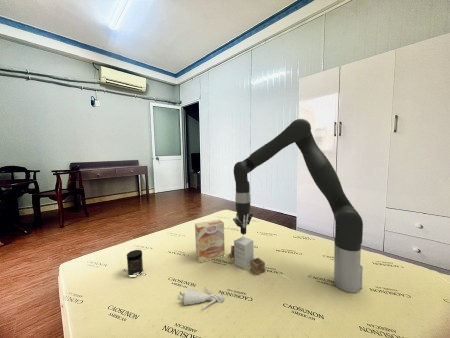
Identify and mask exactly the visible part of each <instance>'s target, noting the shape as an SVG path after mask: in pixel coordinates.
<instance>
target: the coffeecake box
mask: <svg viewBox="0 0 450 338" xmlns="http://www.w3.org/2000/svg"><path fill="white" fill-rule="evenodd" d="M194 228H195V229H194V232H195V237H194V238H195V256H196V257H195V258H196V259H197V261H198V260H199V261H198V262H202V261H205V262H207V261H206V260H209V261H211V260H210V259H213V260H215V259H214V258H216V259H218V258H217V257H220V258H222V257H221V256H224V255H226V253H225V252H226V251H225V223H224V221H222V220H221V219H214V220H208V221H201V222H196V223H194ZM224 257H225V256H224ZM202 263H203V262H202Z"/></svg>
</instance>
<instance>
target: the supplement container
mask: <svg viewBox="0 0 450 338" xmlns="http://www.w3.org/2000/svg"><path fill="white" fill-rule="evenodd" d="M126 263H127V264H126V265H127V275H128V274H129V275H137V274H140V273H141V272H142V271H143V272H144V266H143V265H144V263H143V251H142V250H141V249H135V250H131V251H129V252H127V254H126Z"/></svg>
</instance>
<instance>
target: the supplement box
mask: <svg viewBox="0 0 450 338" xmlns="http://www.w3.org/2000/svg"><path fill="white" fill-rule="evenodd" d="M233 246H234V256H235V259H234V264H235V266H238V267H239V268H242V269H243V268H244V269H243V270H246V269H248V268H249V267H250V260H252V259H255V257H254V256H255V254H254V240H253V239H251V238H248V237H245V236H241V237H239V238H237V239H234V240H233Z"/></svg>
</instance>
